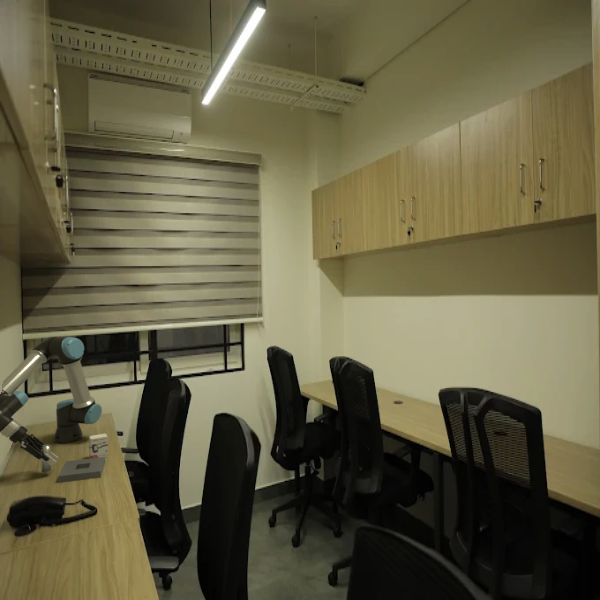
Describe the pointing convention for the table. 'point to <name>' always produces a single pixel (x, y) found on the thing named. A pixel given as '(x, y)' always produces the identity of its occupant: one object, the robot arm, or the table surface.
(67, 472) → the hole block
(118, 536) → the table surface
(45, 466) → the steel pin
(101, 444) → the ink box
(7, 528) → the table surface
